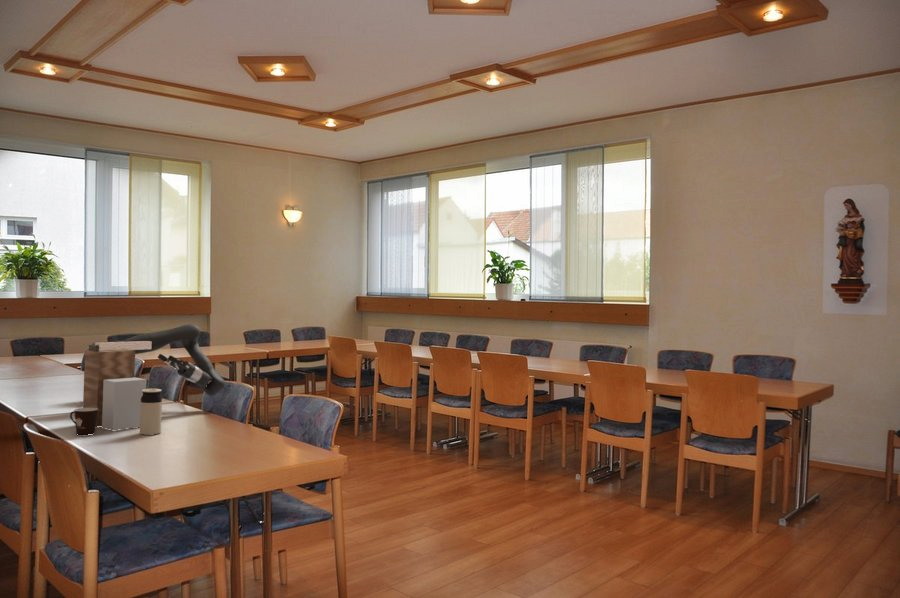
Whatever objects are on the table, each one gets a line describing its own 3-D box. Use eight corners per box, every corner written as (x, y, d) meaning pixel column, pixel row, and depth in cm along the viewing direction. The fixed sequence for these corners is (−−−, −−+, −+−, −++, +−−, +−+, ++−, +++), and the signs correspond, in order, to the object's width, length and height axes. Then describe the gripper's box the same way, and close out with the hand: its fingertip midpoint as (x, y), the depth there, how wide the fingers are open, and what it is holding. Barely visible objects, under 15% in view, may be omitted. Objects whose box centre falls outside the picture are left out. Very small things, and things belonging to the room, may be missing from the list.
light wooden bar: (98, 351, 295) (99, 343, 295) (94, 350, 297) (95, 342, 297) (151, 349, 314) (151, 341, 314) (147, 348, 316) (147, 341, 316)
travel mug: (152, 436, 278) (154, 391, 278) (135, 434, 280) (136, 390, 280) (164, 432, 286) (166, 389, 286) (147, 431, 287) (149, 388, 287)
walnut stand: (96, 427, 290) (99, 346, 290) (82, 423, 297) (85, 344, 297) (132, 423, 303) (135, 345, 303) (118, 419, 310) (121, 343, 310)
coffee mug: (100, 434, 277) (101, 409, 277) (77, 437, 271) (78, 411, 271) (90, 430, 285) (90, 406, 285) (67, 432, 279) (68, 408, 279)
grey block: (112, 431, 284) (114, 381, 284) (101, 428, 290) (103, 379, 290) (144, 426, 296) (146, 379, 296) (133, 424, 301) (135, 377, 301)
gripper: (185, 363, 338) (159, 348, 327) (202, 366, 330) (176, 350, 318) (177, 377, 335) (151, 362, 324) (195, 380, 327) (168, 364, 315)
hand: (163, 356), depth 321 cm, fingers open, 8 cm apart
